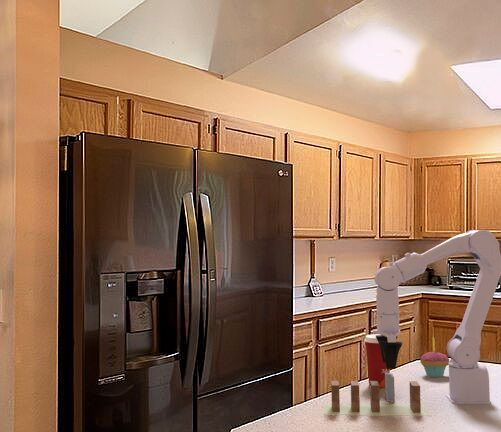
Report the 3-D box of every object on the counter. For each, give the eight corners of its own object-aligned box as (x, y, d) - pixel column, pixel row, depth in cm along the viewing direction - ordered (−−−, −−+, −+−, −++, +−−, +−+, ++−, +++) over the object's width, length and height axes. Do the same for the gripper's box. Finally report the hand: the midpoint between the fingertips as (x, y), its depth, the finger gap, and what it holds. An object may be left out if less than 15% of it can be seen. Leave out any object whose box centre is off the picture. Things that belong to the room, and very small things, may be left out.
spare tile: (392, 397, 160) (391, 373, 160) (394, 402, 156) (394, 377, 156) (385, 397, 160) (384, 373, 161) (387, 402, 156) (387, 377, 156)
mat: (424, 406, 152) (424, 404, 152) (431, 417, 143) (431, 415, 143) (323, 405, 154) (323, 404, 154) (324, 415, 146) (324, 414, 146)
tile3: (378, 407, 151) (377, 381, 151) (380, 412, 146) (379, 385, 147) (370, 407, 151) (370, 381, 151) (372, 412, 147) (371, 385, 147)
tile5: (339, 406, 152) (338, 380, 152) (339, 411, 147) (339, 385, 148) (331, 406, 152) (331, 380, 152) (332, 411, 148) (331, 385, 148)
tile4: (358, 406, 151) (357, 381, 152) (359, 412, 147) (359, 385, 147) (351, 406, 152) (350, 380, 152) (352, 412, 147) (351, 385, 147)
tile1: (417, 407, 150) (416, 381, 150) (420, 412, 146) (420, 385, 146) (410, 407, 150) (409, 381, 150) (413, 412, 146) (412, 385, 146)
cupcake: (418, 372, 188) (417, 333, 189) (447, 372, 187) (446, 333, 187) (422, 379, 180) (421, 338, 180) (452, 379, 179) (451, 338, 179)
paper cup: (393, 389, 169) (392, 338, 169) (365, 388, 170) (363, 338, 171) (392, 382, 176) (391, 333, 177) (365, 381, 178) (364, 333, 178)
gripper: (369, 309, 166) (370, 359, 166) (375, 317, 152) (376, 371, 152) (395, 309, 166) (397, 359, 165) (403, 316, 151) (405, 371, 151)
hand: (389, 365), depth 158 cm, fingers open, 7 cm apart
